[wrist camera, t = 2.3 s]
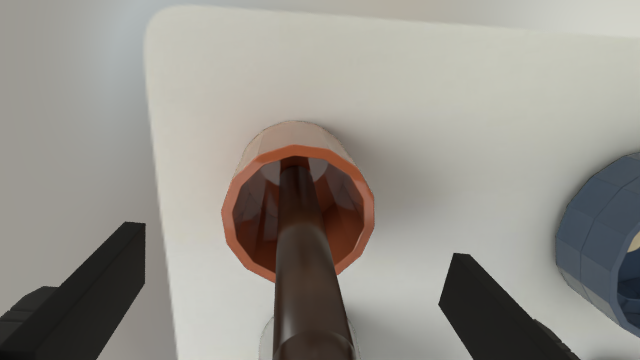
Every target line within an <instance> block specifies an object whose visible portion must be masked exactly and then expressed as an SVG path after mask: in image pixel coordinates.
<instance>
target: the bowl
mask: <svg viewBox="0 0 640 360" xmlns="http://www.w3.org/2000/svg"><path fill="white" fill-rule="evenodd" d="M639 232H640V152H638V153H634V154H630V155H626V156H624V157H621V158H620V159H618V160H617V161H615V162H614V163H612V164H611V165H609V166H608V167H606V168H605V169H603V170H601V171H600V172H598V173H597V174H595V175H594V176H592V177H591V178H590V179H589V180H588V181H587V183H586V184H585V185H584V186H583V187H582V189H581V190H580V191H579V192H578V193H577V195H576V196H575V197H574V198H573V199H572V201H571V202H570V203H569V204H568V206H567V208H566V211H565V213H564V216H563V218H562V221H561V224H560V226H559V229H558V231H557V234H556V265H557V266H558V268H559V270H560V272H561V274H562V275H563V277H564V279H565V281H566V282H567V284H568V286H570V287H571V288H572V289H573V290H575V291H576V292H577V293H578V294H580V295H581V296H582V297H584V298H585V299H586V300H587V301H589V302H590V303H591V304H592V305H594V306H595V307H596V308H597V309H599V310H600V311H601V312H603V313H604V314H605V315H606V316H608V317H609V318H610V319H611V320H613V321H614V322H615V323H616V324H618V325H619V326H620V327H622V328H623V329H625V330H627V331H628V332H630V333H632V334H634V335H635V336H637V337H639V338H640V247H639V248H638V249H636V250H634V251H631V252H627V251H628V249H629V247H630V245H631V243H632V240H633V238H634V237H635V236H636V235H637V234H638V233H639Z"/></svg>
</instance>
